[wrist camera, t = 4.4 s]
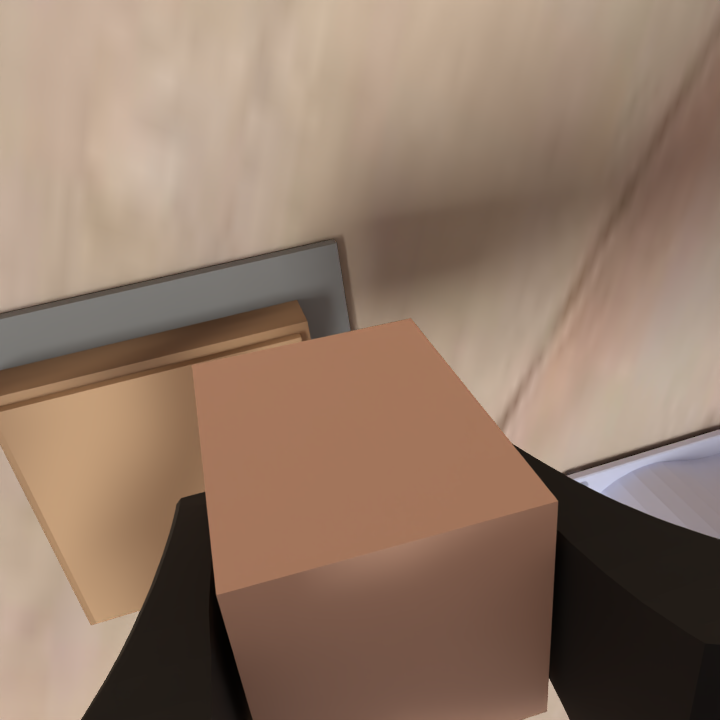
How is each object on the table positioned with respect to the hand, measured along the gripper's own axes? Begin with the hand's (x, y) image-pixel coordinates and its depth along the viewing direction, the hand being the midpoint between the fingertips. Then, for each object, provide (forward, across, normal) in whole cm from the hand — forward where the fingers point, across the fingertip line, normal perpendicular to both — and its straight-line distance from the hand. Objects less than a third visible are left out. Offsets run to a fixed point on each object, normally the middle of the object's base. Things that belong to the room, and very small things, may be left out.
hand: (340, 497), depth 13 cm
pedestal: (+9, +4, +4) cm, 11 cm away
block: (+2, 0, 0) cm, 2 cm away
